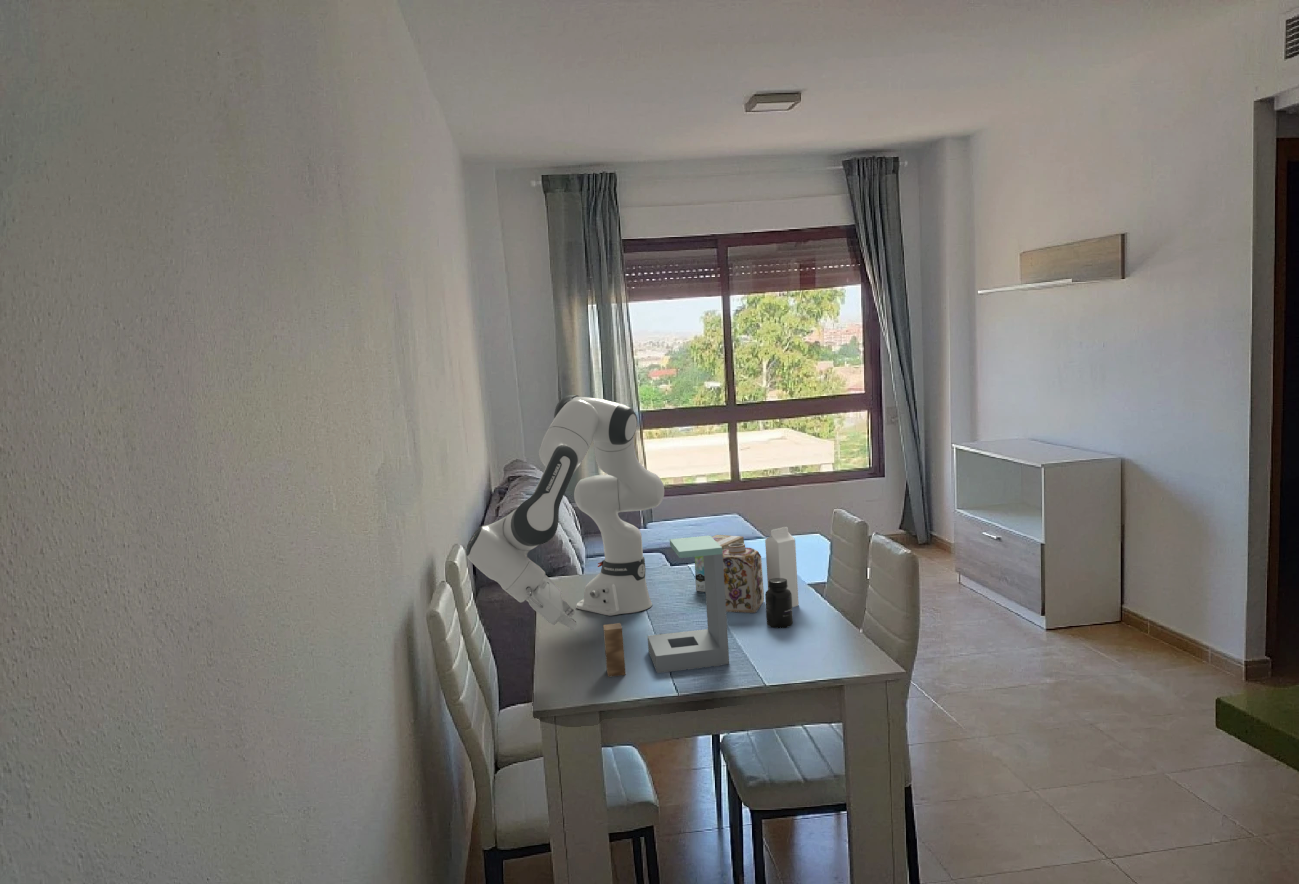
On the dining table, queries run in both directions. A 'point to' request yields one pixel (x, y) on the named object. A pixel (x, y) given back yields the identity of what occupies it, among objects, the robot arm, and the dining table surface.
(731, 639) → the dining table surface
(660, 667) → the socket stand
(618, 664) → the walnut peg
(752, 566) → the decorative jar
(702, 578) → the tea box
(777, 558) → the milk
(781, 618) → the supplement bottle
